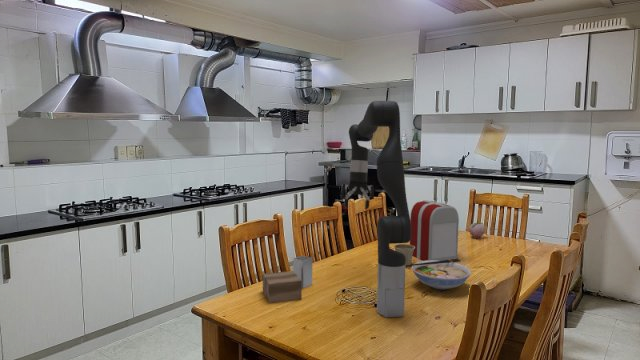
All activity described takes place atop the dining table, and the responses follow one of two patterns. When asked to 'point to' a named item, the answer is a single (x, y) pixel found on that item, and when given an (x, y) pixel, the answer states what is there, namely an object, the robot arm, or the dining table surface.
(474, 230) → the decorative fruit
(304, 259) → the steel tea tin
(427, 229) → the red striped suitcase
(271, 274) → the walnut box
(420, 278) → the ramen bowl
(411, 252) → the flower pot
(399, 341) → the dining table surface
